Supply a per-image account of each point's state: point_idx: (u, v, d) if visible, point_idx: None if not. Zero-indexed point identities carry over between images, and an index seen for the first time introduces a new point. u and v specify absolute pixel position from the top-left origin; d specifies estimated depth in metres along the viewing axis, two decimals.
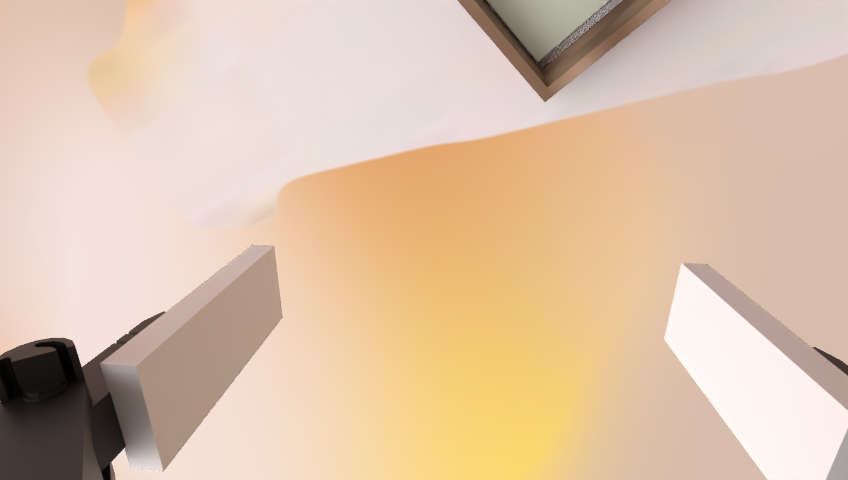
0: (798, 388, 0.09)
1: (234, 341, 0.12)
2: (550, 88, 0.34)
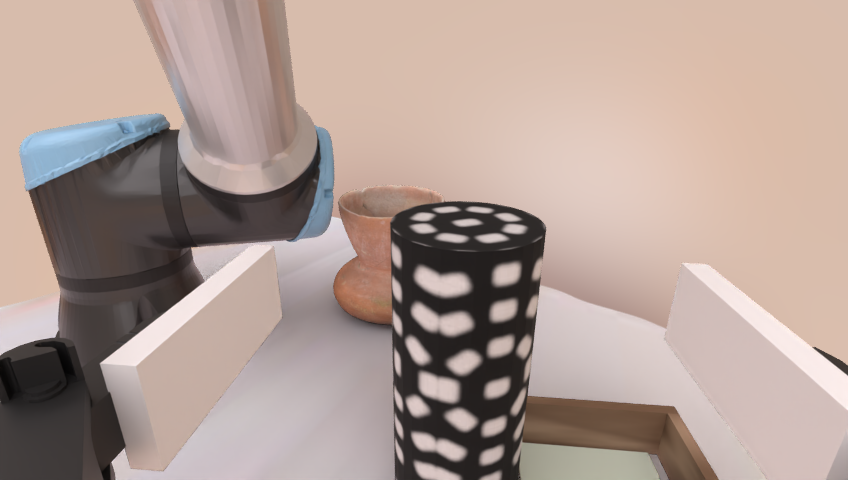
0: (798, 388, 0.09)
1: (234, 341, 0.12)
2: None
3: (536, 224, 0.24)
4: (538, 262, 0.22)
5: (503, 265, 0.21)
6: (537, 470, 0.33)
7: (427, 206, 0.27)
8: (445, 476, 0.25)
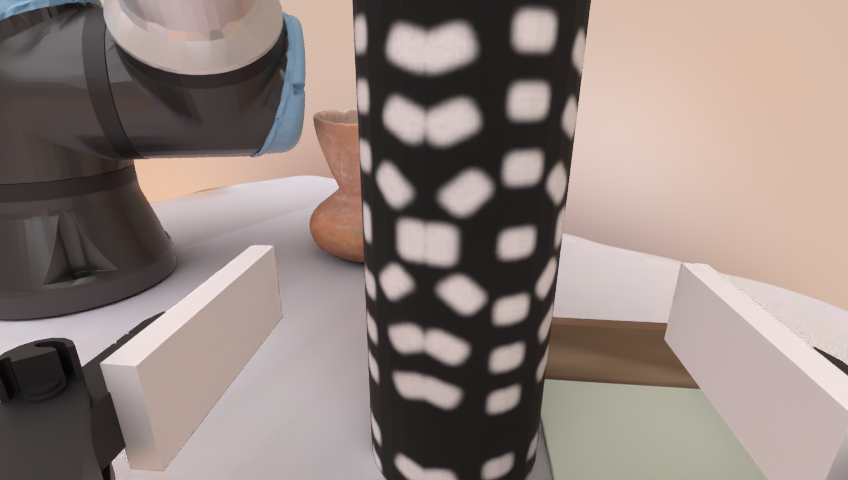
0: (798, 388, 0.09)
1: (234, 341, 0.12)
2: None
3: None
4: (581, 36, 0.14)
5: (529, 10, 0.13)
6: (563, 409, 0.24)
7: None
8: (438, 390, 0.17)
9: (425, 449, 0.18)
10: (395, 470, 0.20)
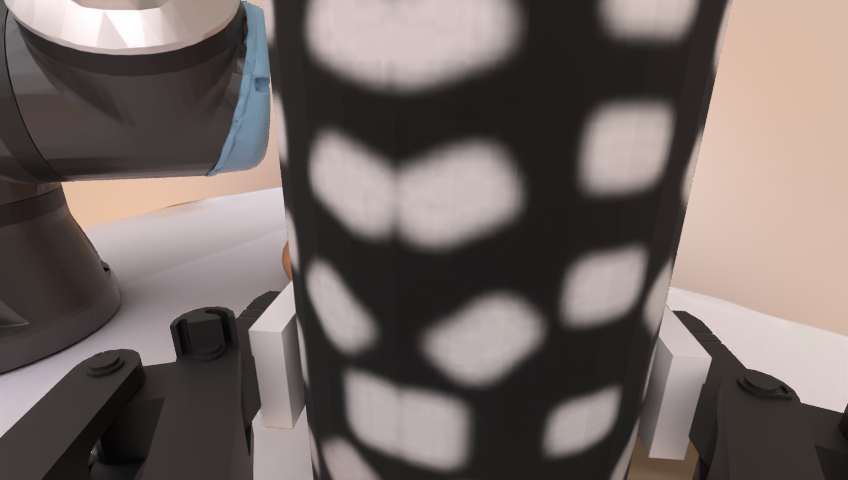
0: None
1: None
2: None
3: None
4: (730, 6, 0.07)
5: None
6: None
7: None
8: None
9: None
10: None
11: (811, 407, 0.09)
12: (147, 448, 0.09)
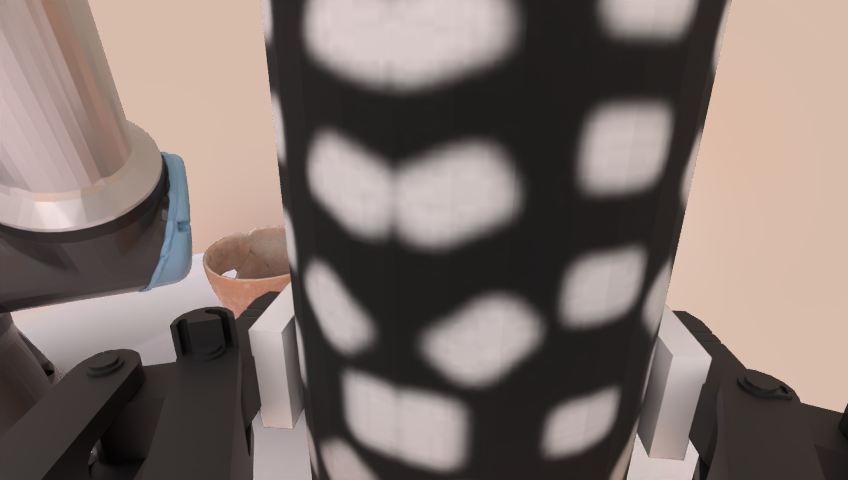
0: None
1: None
2: None
3: None
4: (729, 5, 0.07)
5: None
6: None
7: None
8: None
9: None
10: None
11: (811, 407, 0.09)
12: (147, 448, 0.09)
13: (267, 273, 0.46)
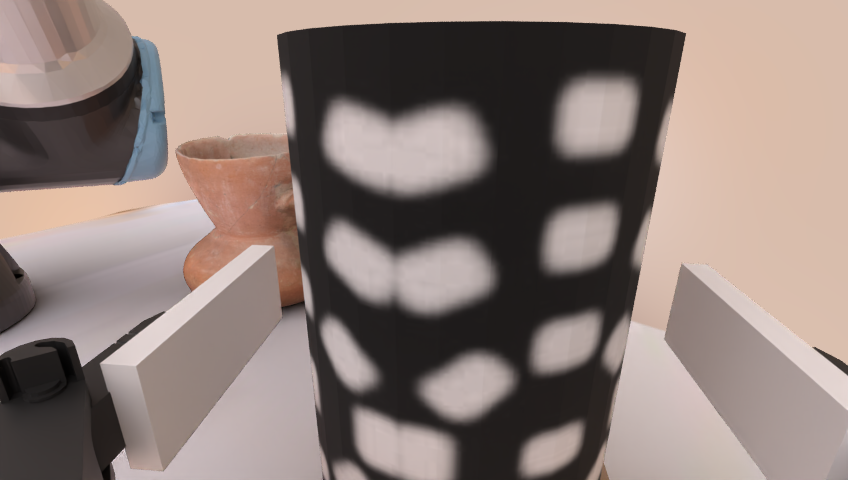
0: (798, 388, 0.09)
1: (234, 341, 0.12)
2: None
3: None
4: (669, 112, 0.08)
5: (589, 82, 0.06)
6: None
7: None
8: None
9: None
10: None
11: None
12: None
13: None
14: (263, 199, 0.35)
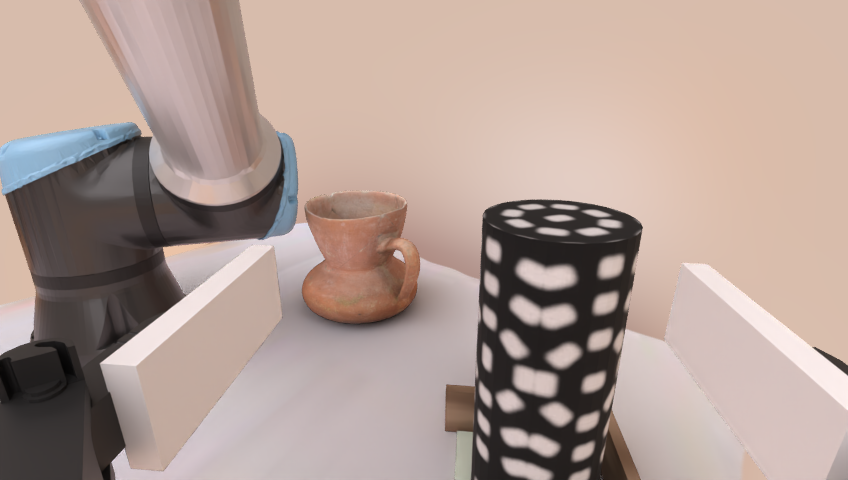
0: (798, 388, 0.09)
1: (234, 341, 0.12)
2: None
3: (628, 219, 0.24)
4: (636, 256, 0.23)
5: (608, 257, 0.21)
6: None
7: (511, 204, 0.27)
8: (536, 472, 0.25)
9: None
10: None
11: None
12: None
13: None
14: (369, 245, 0.49)
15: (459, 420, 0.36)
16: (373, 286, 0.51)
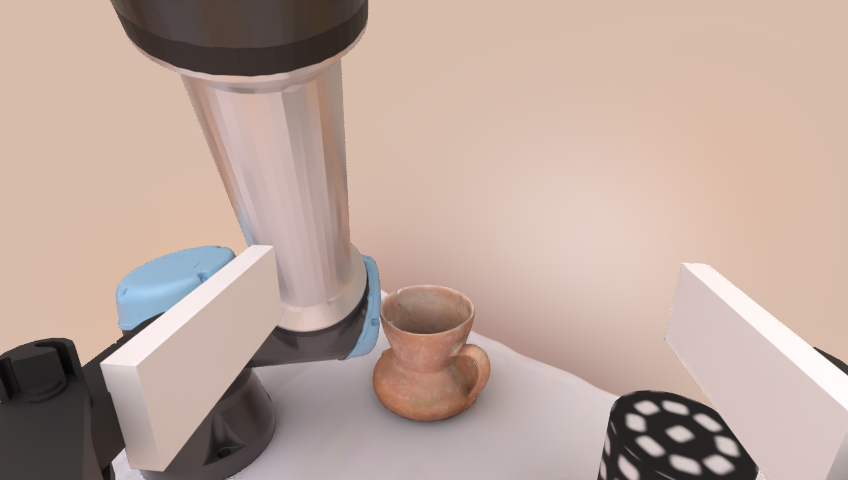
0: (798, 388, 0.09)
1: (234, 341, 0.12)
2: None
3: None
4: None
5: None
6: None
7: (626, 401, 0.31)
8: None
9: None
10: None
11: None
12: None
13: (408, 320, 0.62)
14: (444, 353, 0.53)
15: None
16: (444, 387, 0.55)
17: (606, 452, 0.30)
